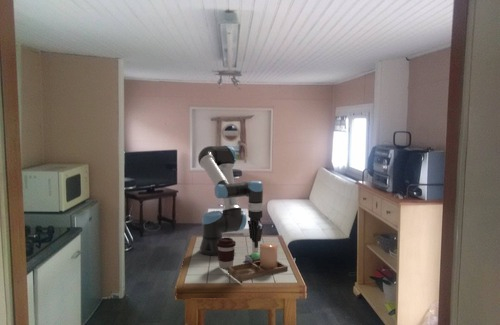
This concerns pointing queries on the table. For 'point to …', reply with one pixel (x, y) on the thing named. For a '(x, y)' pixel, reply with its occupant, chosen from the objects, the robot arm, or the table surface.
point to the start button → (255, 255)
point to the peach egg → (268, 256)
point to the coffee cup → (226, 252)
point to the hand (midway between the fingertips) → (255, 252)
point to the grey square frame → (251, 259)
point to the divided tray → (253, 270)
